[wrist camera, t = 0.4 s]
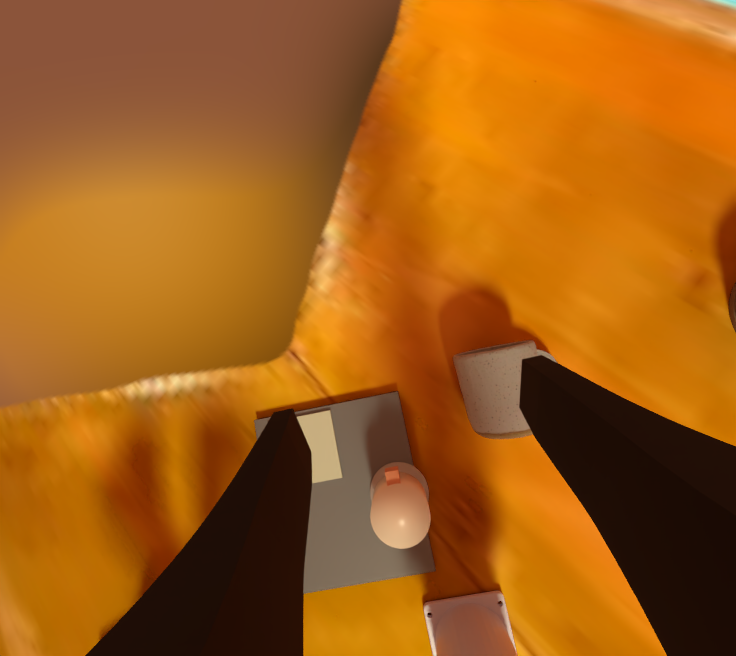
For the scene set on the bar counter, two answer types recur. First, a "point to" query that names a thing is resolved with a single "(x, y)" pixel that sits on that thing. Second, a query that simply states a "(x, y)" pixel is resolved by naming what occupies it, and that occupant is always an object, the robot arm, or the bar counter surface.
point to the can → (733, 306)
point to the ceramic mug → (495, 388)
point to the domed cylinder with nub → (400, 510)
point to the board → (354, 492)
